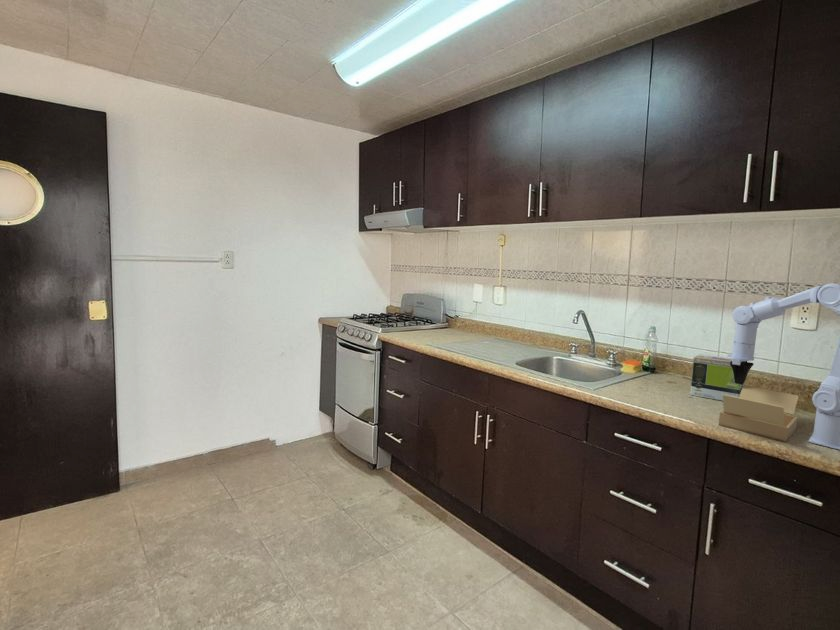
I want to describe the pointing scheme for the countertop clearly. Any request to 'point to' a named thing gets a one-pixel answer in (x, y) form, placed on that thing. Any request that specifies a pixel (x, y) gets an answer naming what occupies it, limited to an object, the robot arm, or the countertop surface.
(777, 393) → the flap
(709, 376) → the tea box
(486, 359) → the countertop surface
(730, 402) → the flap
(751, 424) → the carton
